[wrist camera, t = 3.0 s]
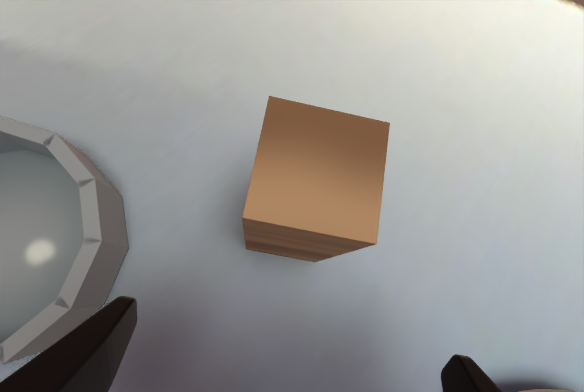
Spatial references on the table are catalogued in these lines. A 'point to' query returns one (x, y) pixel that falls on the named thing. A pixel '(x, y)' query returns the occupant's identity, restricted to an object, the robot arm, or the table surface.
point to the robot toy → (546, 390)
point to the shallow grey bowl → (52, 238)
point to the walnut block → (315, 182)
